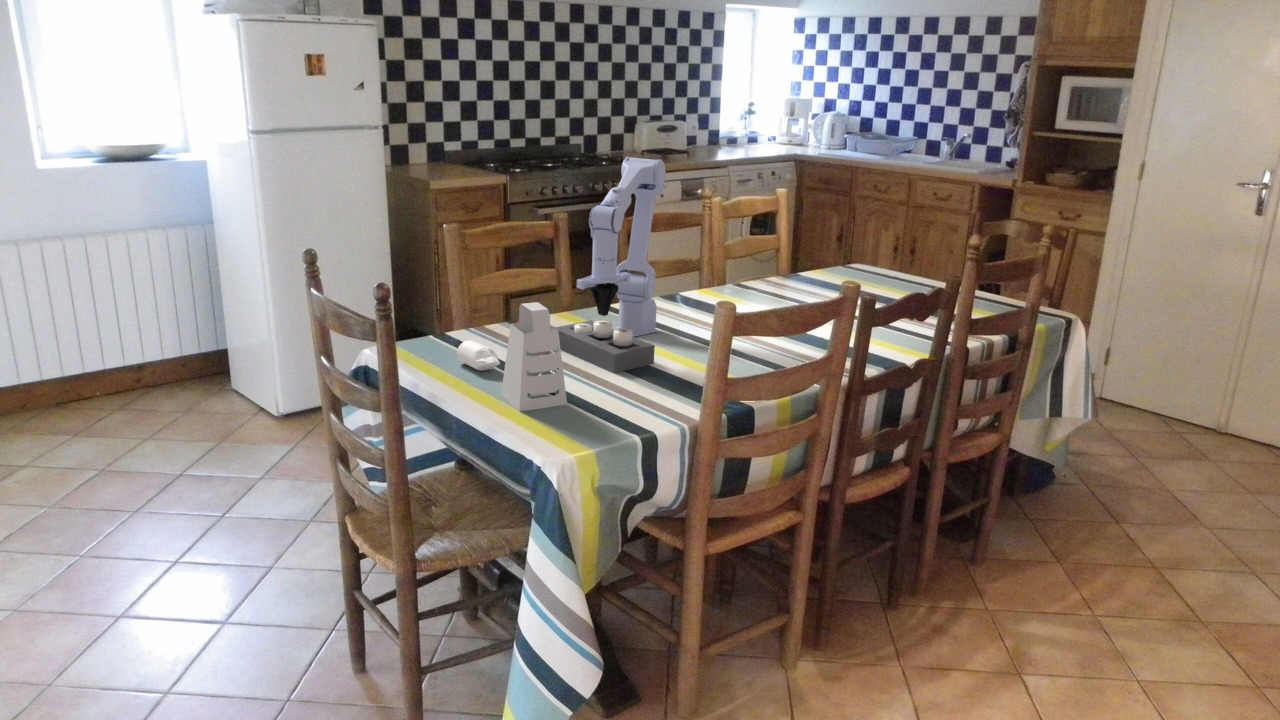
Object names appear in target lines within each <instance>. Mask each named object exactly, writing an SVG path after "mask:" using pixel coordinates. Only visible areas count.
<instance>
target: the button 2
mask: <svg viewBox="0 0 1280 720" xmlns="http://www.w3.org/2000/svg"><path fill="white" fill-rule="evenodd" d="M632 333H633V331H632V330H630V329H626V328H618V329H615V330H614V332H613V344H614V345H617V346H630V345H632Z"/></svg>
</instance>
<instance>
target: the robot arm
mask: <svg viewBox="0 0 1280 720" xmlns="http://www.w3.org/2000/svg"><path fill="white" fill-rule="evenodd" d="M621 164H622V165H621V171H620V172H621V180H620V181H619V183H618V185H617V186H615V187H612V188H611V189H610V190H609V191H608V193H607V194H606V195H605V197H604V199H603V200H602V202H600V205H598V204H597V205H595V207H592V208H591V210H590V212H589V218H588V225H589V228H590V238H592V256H591V257H592V258H591V259H592V263H591V275H589V276H586V277H585V276H584V277H583V278H578V279H576V289H580V290H585V289H587V288H588V289H589V290H590V291H591V294H592V297H593V299H594V302H595V304H596V310H597V314H598V315H600V316H602V317H604V316H605V317H606V316H608V315H609V312H610V308H611V304H612V302H613V300H614V297H615V296H616V298H617V299H619V303H618V306H619V307H618V326H615V327H612V329H614V330H615V329H618V328H626V329H630V330H632V331H633V333H632V337H635V338H636V337H639V336H644V335H647V334H648V335H649V334H652V333H657V332H658V329H656V327H657V326H656V324H657V304H656V301H655V300H654V298H653V296H654V294H655V290H656V271H655V269H654V268H653V267H652V265H651V264H649V262H648V261H647V259H648V258H647V257H648V253H649V252H648V251H649V245H650V240H651V239H650V238H651V231H652V224H653V218H654V217H653V216H654V210H655V204H656V200H657V199H656V198H657V197H659V196H660V195H663V190H664V185H665V178H666V173H667V172H666V166H665V163H664V161H663V160H662V159H652V158H650V159H649V158H640V157H631V156H626V157H625V159H623V161H622V163H621ZM633 194H634V196H635V203H634V212H633V218H632V224H631V232H630V238H629V245H628V253H627V259H626V260H624V261H622V262H620V263H619V264H618V246H619V245H618V243H619V242H618V239H619V238H618V237H619V232H620V231H621V230H622V226H623V221H624V219H625V213H626V211H628V208H629V207H630V205H631V203H632V195H633Z"/></svg>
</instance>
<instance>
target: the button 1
mask: <svg viewBox="0 0 1280 720" xmlns="http://www.w3.org/2000/svg"><path fill="white" fill-rule="evenodd" d="M574 331H577V332H579V333H585V332H589V331H592V325H590V324H584V323H581V324H576V325H574Z"/></svg>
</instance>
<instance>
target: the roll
mask: <svg viewBox="0 0 1280 720" xmlns="http://www.w3.org/2000/svg"><path fill="white" fill-rule="evenodd" d="M456 358H457V359H458V360H457V361H459V362H461V363H462V364H464V365H467V366H468V367H471V368H472V369H475V370H477V371H478V372H479V371H480V372H482V371H488V370H489V371H490V370H493V369H494V368H496V367H497V366H499V365H500V364H501V362H500V361H499V359H498V354H497V353H496V352H495V351H494V350H493V349H492V348H491V347H488V346H486V345H484V344H482V343H480V342H476V341H474V340H471V339H470V340H468V339H467V340H464V341H463V342H461V344H460V345H459V346H458V347H457V349H456Z"/></svg>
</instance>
